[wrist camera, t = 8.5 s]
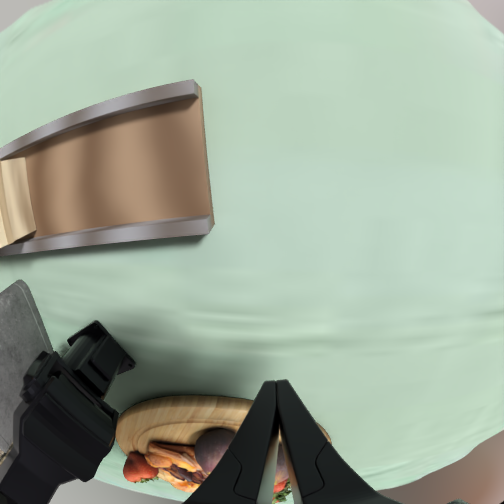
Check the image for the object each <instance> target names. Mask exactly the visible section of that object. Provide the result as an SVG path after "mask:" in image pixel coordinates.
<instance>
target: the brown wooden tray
mask: <svg viewBox="0 0 504 504" xmlns="http://www.w3.org/2000/svg"><path fill="white" fill-rule="evenodd" d="M23 157H25V161H26V171H27V179H28V187H29V193H30V199H31V205H32V211H33V216H34V221H35V225H36V230H35V231H33V232H31V233H29V234H27V235H25V236H23V237H21V238H19V239H17V240H15V241H14V242H13V243H11V244H9V245H6V246H4V247H2V248H0V256H7V255H15V254H23V253H30V252H38V251H46V250H55V249H63V248H72V247H81V246H89V245H99V244H108V243H118V242H127V241H137V240H147V239H158V238H169V237H180V236H191V235H203V234H209V233H210V231H211V229H212V227H213V226H214V224H215V223H214V215H213V206H212V197H211V188H210V179H209V170H208V160H207V150H206V139H205V128H204V116H203V104H202V91H201V87H200V86H199V85H198V84H197V83H196V82H195V81H194V80H193V79H192V80H186V81H181V82H176V83H171V84H166V85H162V86H157V87H153V88H149V89H145V90H141V91H137V92H134V93H130V94H127V95H123V96H120V97H116V98H113V99H110V100H107V101H104V102H101V103H98V104H95V105H92V106H90V107H87V108H84V109H81V110H79V111H76V112H74V113H71V114H69V115H66V116H64V117H61V118H59V119H57V120H55V121H52V122H50V123H48V124H46V125H44V126H41V127H39V128H37V129H35V130H33V131H31V132H29V133H27V134H25V135H23V136H21V137H19V138H18V139H16V140H14V141H12V142H10V143H9V144H7V145H5V146H3V147H2V148H0V160H1V161H4V160H10V159H16V158H23Z"/></svg>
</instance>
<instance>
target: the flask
mask: <svg viewBox="0 0 504 504" xmlns="http://www.w3.org/2000/svg"><path fill="white" fill-rule="evenodd" d="M42 351H45V352H47V353H50V354H52V353H53V352H54V351H53V348H52V346H51V343H50V340H49V337H48V335H47V332H46V329H45V327H44V324H43V322H42V319H41V316H40V314H39V311H38V309H37V306H36V304H35V301H34V299H33V297H32V294H31V292H30V289H29V287H28V286H27V284H26V283H25V282H24V281H22V280H17V281H16V282H15V283H13V284H12V285H10V286H9V287H8V288H6V289H5V290H4V291H2V292H1V293H0V450H2V451H3V452H5V453H6V452H7V451H8V449H9V447H10V445H11V444H12V442H13V413H14V411H15V410H16V408H17V407H18V405H19V404H20V403H21V401H22V400H23V399H22V398H21V397H20V396H19V394H20V392H21V389H22V386H23V377H24V375H25V373H26V372H27V370H28V368H29V367H30V365H31V364H32V362H33V361H34V360H35V359H36V357H37V356H38V355H39V354H40V353H41V352H42Z"/></svg>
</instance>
